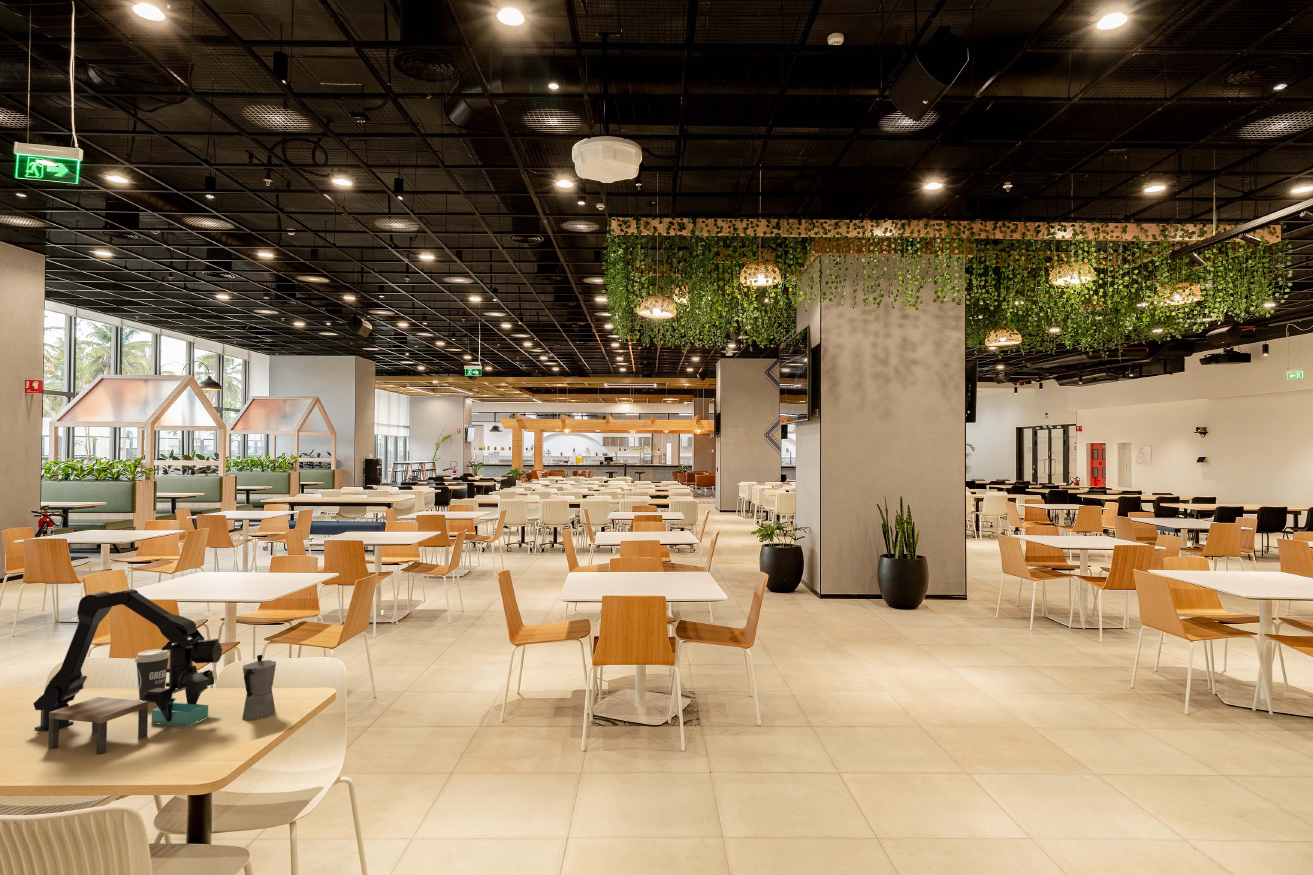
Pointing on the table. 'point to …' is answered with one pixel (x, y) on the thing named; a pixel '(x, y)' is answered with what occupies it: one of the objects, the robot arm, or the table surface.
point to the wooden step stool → (98, 718)
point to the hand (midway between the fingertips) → (180, 716)
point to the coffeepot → (259, 689)
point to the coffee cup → (151, 670)
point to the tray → (182, 714)
